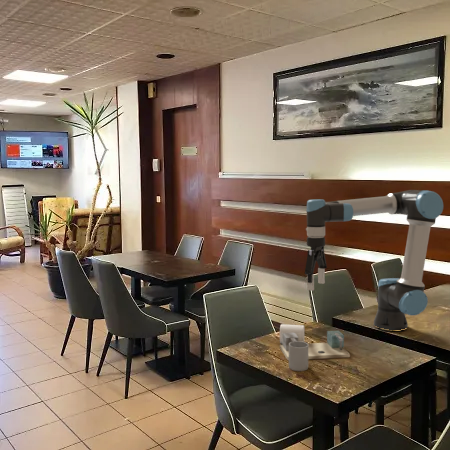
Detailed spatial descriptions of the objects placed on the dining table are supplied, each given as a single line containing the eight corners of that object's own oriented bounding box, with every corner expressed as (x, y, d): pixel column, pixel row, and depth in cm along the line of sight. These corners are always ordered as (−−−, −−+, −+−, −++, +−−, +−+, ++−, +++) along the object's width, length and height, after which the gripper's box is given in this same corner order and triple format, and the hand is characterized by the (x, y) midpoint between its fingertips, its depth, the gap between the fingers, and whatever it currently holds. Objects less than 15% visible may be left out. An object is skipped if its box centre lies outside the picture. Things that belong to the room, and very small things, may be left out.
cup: (295, 372, 177) (295, 349, 176) (281, 363, 186) (281, 340, 185) (312, 369, 180) (312, 346, 179) (297, 360, 189) (297, 337, 188)
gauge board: (337, 344, 205) (338, 329, 205) (349, 357, 191) (350, 340, 191) (279, 347, 202) (279, 332, 202) (287, 360, 189) (287, 344, 188)
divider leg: (338, 342, 204) (338, 330, 204) (347, 350, 194) (347, 338, 194) (327, 342, 204) (327, 331, 203) (335, 351, 194) (335, 339, 193)
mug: (303, 347, 203) (303, 328, 202) (279, 345, 205) (279, 327, 204) (304, 337, 215) (304, 320, 214) (282, 336, 217) (282, 319, 216)
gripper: (317, 232, 215) (317, 280, 217) (296, 240, 194) (296, 292, 196) (333, 233, 212) (333, 281, 214) (314, 240, 190) (314, 294, 192)
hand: (316, 286), depth 205 cm, fingers open, 13 cm apart
